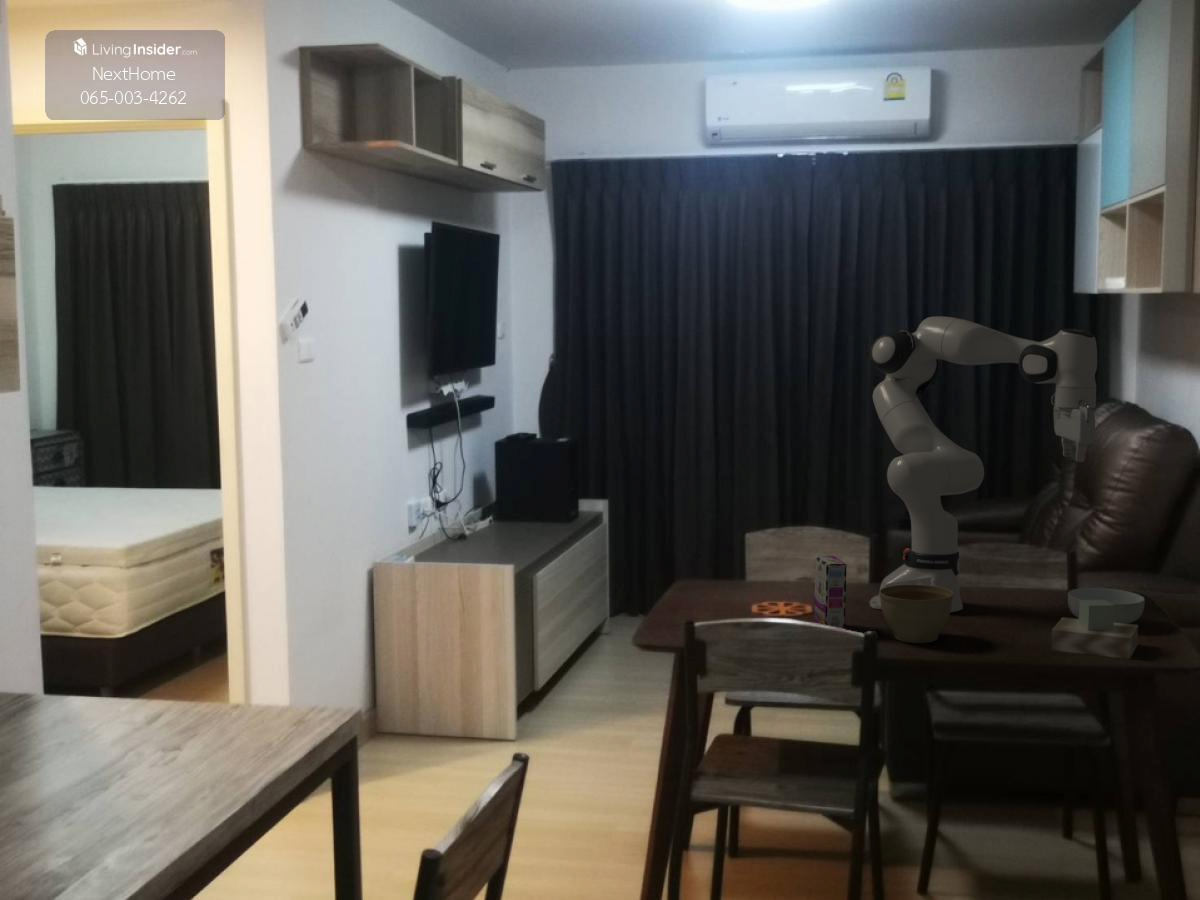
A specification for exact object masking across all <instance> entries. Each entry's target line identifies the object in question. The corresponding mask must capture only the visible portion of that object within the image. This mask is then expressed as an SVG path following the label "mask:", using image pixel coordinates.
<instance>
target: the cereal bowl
mask: <svg viewBox="0 0 1200 900" xmlns="http://www.w3.org/2000/svg"><path fill="white" fill-rule="evenodd" d="M1080 600H1106V601H1108V602H1109V603H1111V604H1113V605H1114V623H1124V624H1132V623H1134V622H1135V621H1137V620H1139V619H1140V617H1141V616H1142V614H1143V613H1144V609H1145V606H1146V605H1145V603H1146V600H1145V597H1144V596H1142V595H1141V594H1138V593H1134V592H1132V591H1127V590H1122V589H1115V588H1109V587H1108V588H1105V587H1081V588H1075V589H1071V590H1070V591H1068V593H1067V605H1068V606H1067V607H1068V608H1069V610H1070V612H1071V613H1072V615H1074V616H1075V617H1076V619H1079V604H1080Z"/></svg>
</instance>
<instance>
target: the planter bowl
mask: <svg viewBox="0 0 1200 900" xmlns="http://www.w3.org/2000/svg"><path fill="white" fill-rule="evenodd" d="M879 591H880V597H881V607H882V609H881V612H882V615H883V617H884V620H885V621H886V623H887V625H888V627H889V628H890V630H892V633H893V636H894V638H895V639H896V640H898V641H899V642H904V643H909V644H927V643H934V642H935V641H937V640H938V638H939V634H940V632H942V630H943V629H944V628H945V626H946V624H947V622H948V620H949V617H950V615H951V613H952V612H951V607H952V599H953V592H952V591H951V590H948V589H946V588H942V587H937V586H930V585H894V586H888V587H884V588H882V589H881V590H880V589H879Z"/></svg>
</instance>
